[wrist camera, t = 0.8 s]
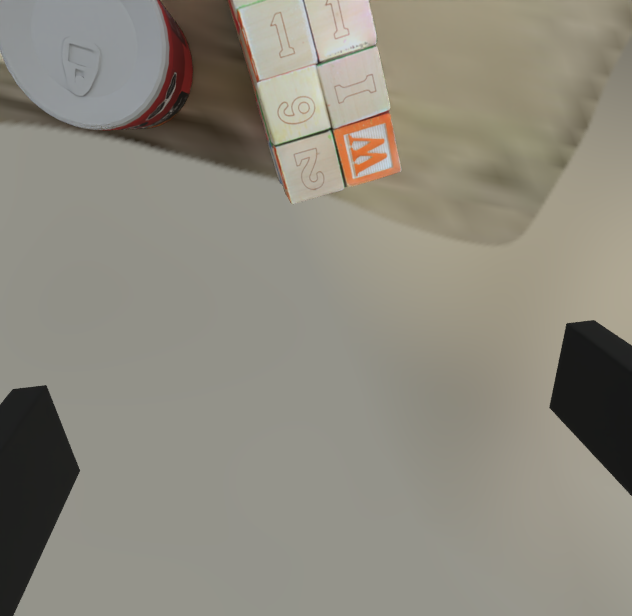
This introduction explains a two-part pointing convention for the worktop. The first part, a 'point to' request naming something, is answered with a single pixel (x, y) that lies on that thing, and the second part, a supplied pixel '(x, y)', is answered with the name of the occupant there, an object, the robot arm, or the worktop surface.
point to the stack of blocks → (318, 92)
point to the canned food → (98, 60)
